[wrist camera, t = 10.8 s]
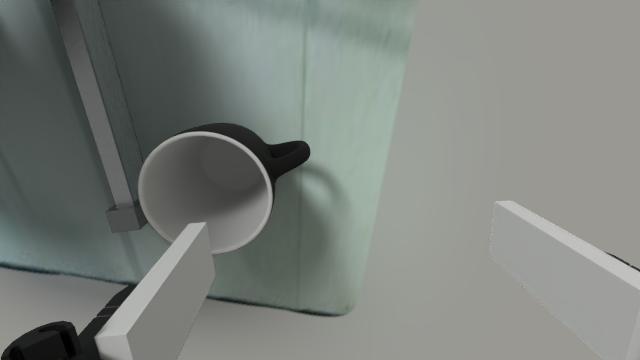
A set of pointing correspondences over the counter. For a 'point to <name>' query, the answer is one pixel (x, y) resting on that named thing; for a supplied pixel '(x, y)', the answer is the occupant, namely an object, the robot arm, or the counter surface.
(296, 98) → the counter surface
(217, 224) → the mug
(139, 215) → the rail
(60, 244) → the counter surface
